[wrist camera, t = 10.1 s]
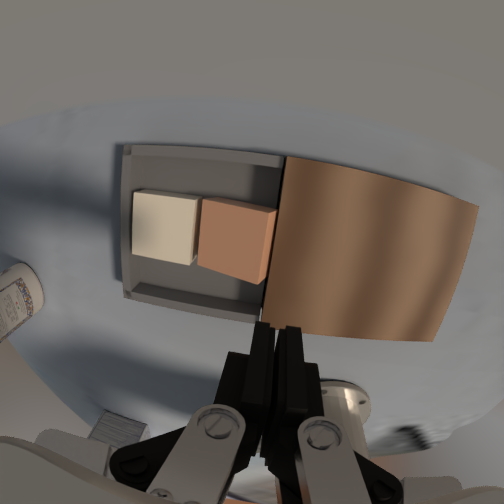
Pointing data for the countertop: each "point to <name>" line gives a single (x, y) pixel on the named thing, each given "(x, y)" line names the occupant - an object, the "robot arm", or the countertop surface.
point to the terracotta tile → (237, 238)
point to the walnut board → (364, 254)
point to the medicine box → (118, 430)
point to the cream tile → (166, 225)
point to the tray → (207, 185)
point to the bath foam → (18, 297)
